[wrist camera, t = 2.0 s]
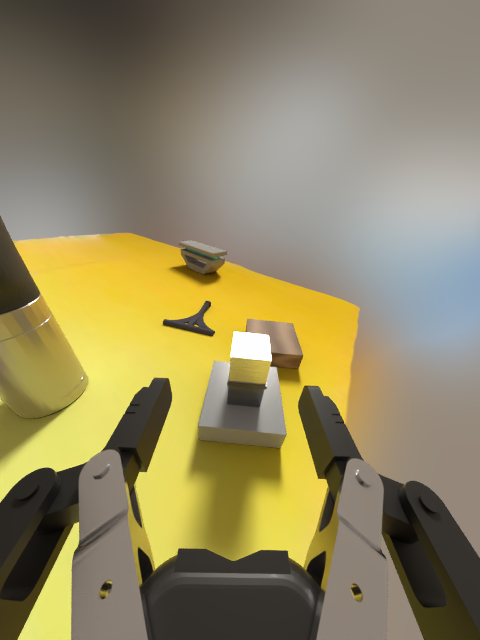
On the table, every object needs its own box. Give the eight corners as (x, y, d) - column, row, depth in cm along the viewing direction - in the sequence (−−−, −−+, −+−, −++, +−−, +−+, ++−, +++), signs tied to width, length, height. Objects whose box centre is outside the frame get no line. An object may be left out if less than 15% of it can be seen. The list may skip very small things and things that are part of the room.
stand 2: (244, 363, 40) (245, 349, 38) (245, 330, 50) (247, 318, 48) (298, 368, 40) (303, 355, 38) (289, 335, 50) (292, 323, 48)
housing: (225, 405, 27) (228, 357, 22) (229, 376, 32) (232, 330, 27) (261, 409, 27) (273, 361, 22) (260, 379, 32) (269, 334, 27)
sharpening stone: (225, 275, 86) (226, 251, 80) (212, 279, 81) (212, 253, 75) (193, 262, 99) (192, 240, 93) (180, 264, 94) (178, 241, 88)
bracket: (229, 311, 60) (230, 303, 58) (212, 338, 48) (212, 329, 46) (189, 303, 62) (188, 295, 61) (163, 326, 50) (161, 318, 49)
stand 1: (199, 439, 27) (198, 425, 25) (213, 374, 37) (213, 360, 35) (280, 448, 27) (286, 434, 25) (272, 381, 37) (276, 367, 35)
